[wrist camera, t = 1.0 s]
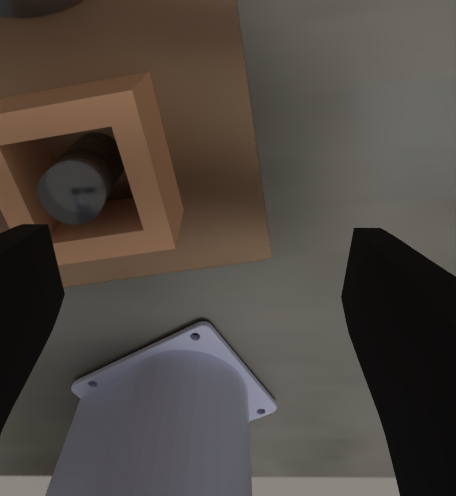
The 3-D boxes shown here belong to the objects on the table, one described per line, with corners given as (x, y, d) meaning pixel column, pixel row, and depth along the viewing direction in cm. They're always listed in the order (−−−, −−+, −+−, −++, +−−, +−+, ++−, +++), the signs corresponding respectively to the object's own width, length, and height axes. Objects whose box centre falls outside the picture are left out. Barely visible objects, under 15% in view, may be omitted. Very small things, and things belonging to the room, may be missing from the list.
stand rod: (131, 177, 17) (110, 220, 14) (83, 185, 17) (51, 229, 14) (116, 128, 16) (90, 161, 13) (64, 136, 16) (26, 172, 13)
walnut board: (269, 240, 20) (272, 258, 19) (27, 275, 21) (14, 293, 20) (165, -506, 10) (156, -579, 9) (-294, -362, 11) (-364, -407, 10)
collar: (183, 210, 18) (175, 248, 15) (58, 228, 18) (30, 269, 16) (149, 71, 15) (132, 90, 12) (2, 98, 15) (-44, 121, 13)
